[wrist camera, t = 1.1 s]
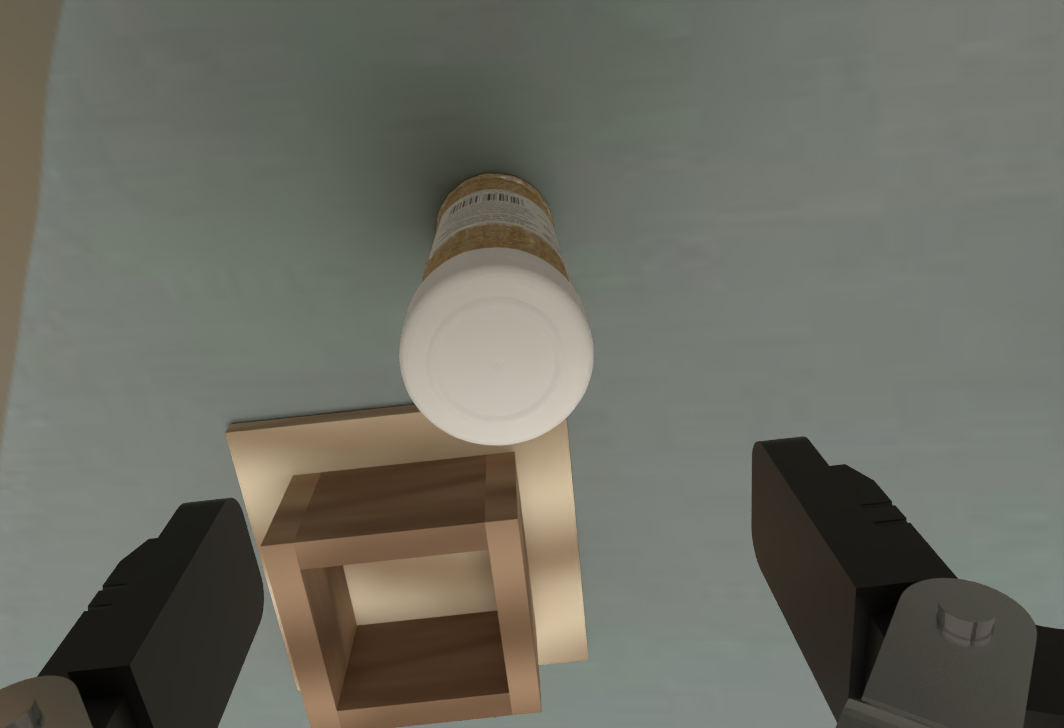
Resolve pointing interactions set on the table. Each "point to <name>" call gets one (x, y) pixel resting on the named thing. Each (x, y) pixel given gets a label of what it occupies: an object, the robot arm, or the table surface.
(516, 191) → the sprinkles bottle
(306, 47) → the table surface
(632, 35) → the table surface
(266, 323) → the table surface
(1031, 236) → the table surface
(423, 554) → the socket
